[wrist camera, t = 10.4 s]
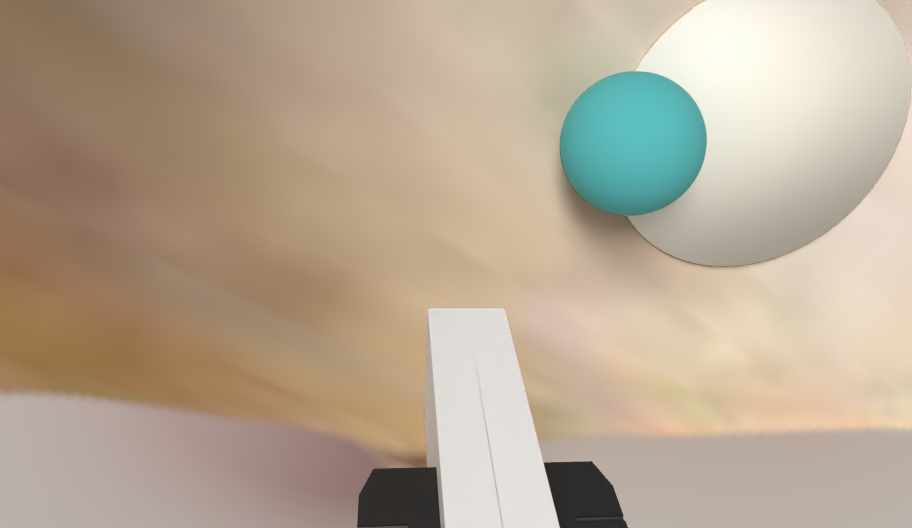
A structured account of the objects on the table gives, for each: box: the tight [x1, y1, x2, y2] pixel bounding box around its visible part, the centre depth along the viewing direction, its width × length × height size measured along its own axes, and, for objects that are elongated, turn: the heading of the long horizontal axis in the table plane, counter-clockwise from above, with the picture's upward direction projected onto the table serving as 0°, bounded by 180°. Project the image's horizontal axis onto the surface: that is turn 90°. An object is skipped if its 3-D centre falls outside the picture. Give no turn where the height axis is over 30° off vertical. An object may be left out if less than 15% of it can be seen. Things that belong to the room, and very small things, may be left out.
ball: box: [560, 71, 707, 216], centre depth 26 cm, size 6×6×6 cm
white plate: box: [627, 0, 911, 266], centre depth 29 cm, size 13×13×1 cm
